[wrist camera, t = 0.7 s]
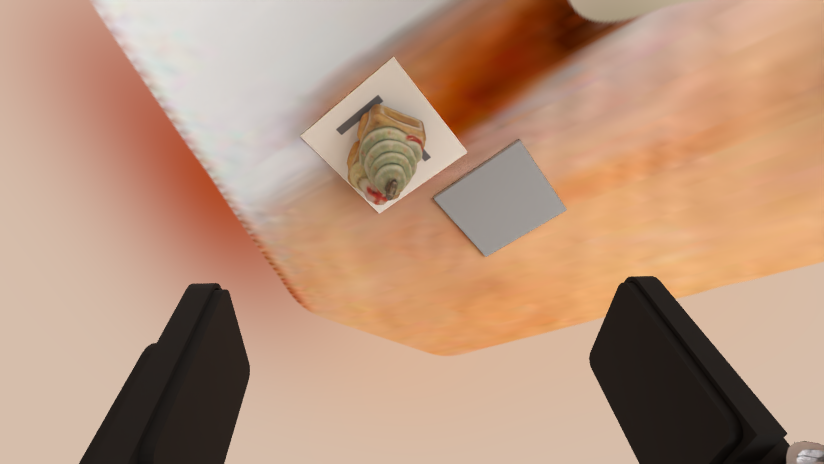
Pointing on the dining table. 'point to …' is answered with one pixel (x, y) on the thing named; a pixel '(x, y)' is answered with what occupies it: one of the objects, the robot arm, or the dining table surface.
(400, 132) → the ornament
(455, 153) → the tile
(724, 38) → the dining table surface
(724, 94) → the dining table surface
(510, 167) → the grey mat
